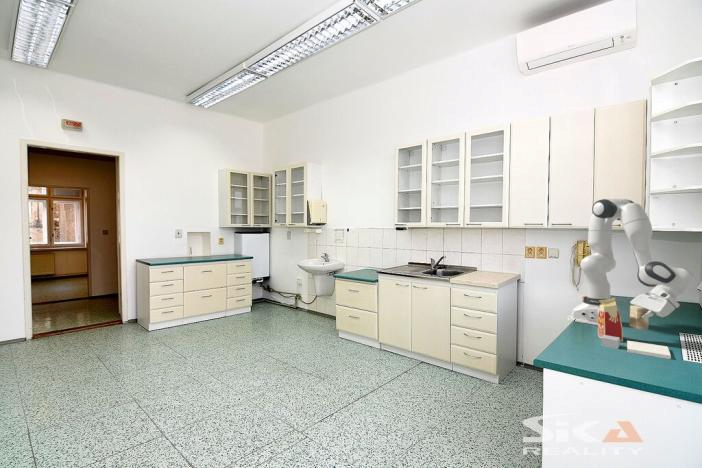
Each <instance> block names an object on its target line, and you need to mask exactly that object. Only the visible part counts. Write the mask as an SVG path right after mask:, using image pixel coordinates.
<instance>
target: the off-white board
mask: <svg viewBox="0 0 702 468" xmlns="http://www.w3.org/2000/svg"><path fill="white" fill-rule="evenodd" d="M626 344H627V345H626V349H627V350H626V352H627V353H629V354H631V353H632V354H637V355H643V356H648V357H649V356H650V357H655V358H661V359H668V360H671V359H672V355H671V352H670V350H669V347H668V346H665V345H661V344H659V345H658V344H653V343H646V342H639V341H633V340H632V341H631V340H627V341H626Z"/></svg>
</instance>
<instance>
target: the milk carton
mask: <svg viewBox="0 0 702 468" xmlns="http://www.w3.org/2000/svg"><path fill="white" fill-rule="evenodd" d="M598 301H600V308H599V314H598V325H597V336H598V338H599V339H601V338H602V336H603V335H608V336H614V337H620V342H624V330H623V329H624V328H623V325H622V318H621V315H620V311H619V309H618V305H617V303H616V297H612V298H611V299H608V300H598Z"/></svg>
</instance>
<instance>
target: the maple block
mask: <svg viewBox="0 0 702 468" xmlns="http://www.w3.org/2000/svg"><path fill="white" fill-rule="evenodd" d="M648 311H649V310H647V308H644V307H641V306H632V305H630V306H629V327H631V328H632V329H633V328H634V329H636V330H649V318H650V317H648V318H647V319H645V320H644V319H642V318H641V317H640V316H641V315H642V314H646V313H648Z"/></svg>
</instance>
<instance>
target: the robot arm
mask: <svg viewBox="0 0 702 468" xmlns="http://www.w3.org/2000/svg"><path fill="white" fill-rule="evenodd" d="M591 211H592V214H591V215H590V219H589V223H588V231H587V233H588V234H587V245H588V246H589V249H590V255H587V256H585V257H584V258H582V259H581V261H580V264H579V265H580V269H581V270H582V271H583V274H584V277H585V281H586V295H583V296H582V302H581V303H580V304H578V305H576V306H575V307H573V308H572V310H571V313H570V314H569V315H567V317H566V319H567V320H568V321H570V322H571V321H572V322H576V323H582V324H583V323H584V324H589V325H595V326H598V314H599V308H600V301H598V300H608V299H612V298H611V283H609V280H608V277H607V273H610V272H611V271H612V270H614V269H615V268H616V266H617V261H616V259H615V257H614V253H613V247H612V236H613V223H614V221H616V220H617V221H620V223H621V225H622V228H623V230H624V233H625V235H626V236H627V239H628V242H629V244H630V246H631V248H632V251H633V255H634V258H635V261H636V264H637V268H638V269H637V275H636V276H637V280H638V282H639V283H640V284H642V285H643V286H646V287H649V288H652V289H650V291H649V292H645V293H640V294H639V295H637V296H635V297H634V298H633V299H631V300H630V303H629V304H630V306H641V307H644V308H647V310H649V311H648V313H646V314H642V315H641V316H640V317H641V318H642V319H644V320H645V319H647V318H648V317H649V318H650V317H653V316H657V317H660V318H665V317H668V316H669V315H670V314H671V313H673V312H674V311H675V309H678V308H679V307H680V303H679V302H677V300H676V299H677V298H678V297H679V296H680V295H683V294H684V293H685V292H686V291H687V290H688V289H689V288H691V287H692V285H693V284H694V282H695V277H694V276H693V274H692V273H691V272H689V271H688V270H687V269H686V268H682V267H675V266H674V267H673V266H671V265H668V264H665V263H664V262H662V261H657V260H655V261H653V257H652V255H651V252H650V241H651V239H652V236H653V227H652V223H651V221H650V219H649V216H648V213H646V211H645V209H644V208H643V207H642V205H641V204H640V203H637V202H635V201H633V200H630V199H626V198H625V199H624V198H623V199H622V198H607V199H606V198H603V199H598V200H596V201H595V202H594V203H593V205H592V208H591ZM575 319H576V320H575ZM574 320H575V321H574Z"/></svg>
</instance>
